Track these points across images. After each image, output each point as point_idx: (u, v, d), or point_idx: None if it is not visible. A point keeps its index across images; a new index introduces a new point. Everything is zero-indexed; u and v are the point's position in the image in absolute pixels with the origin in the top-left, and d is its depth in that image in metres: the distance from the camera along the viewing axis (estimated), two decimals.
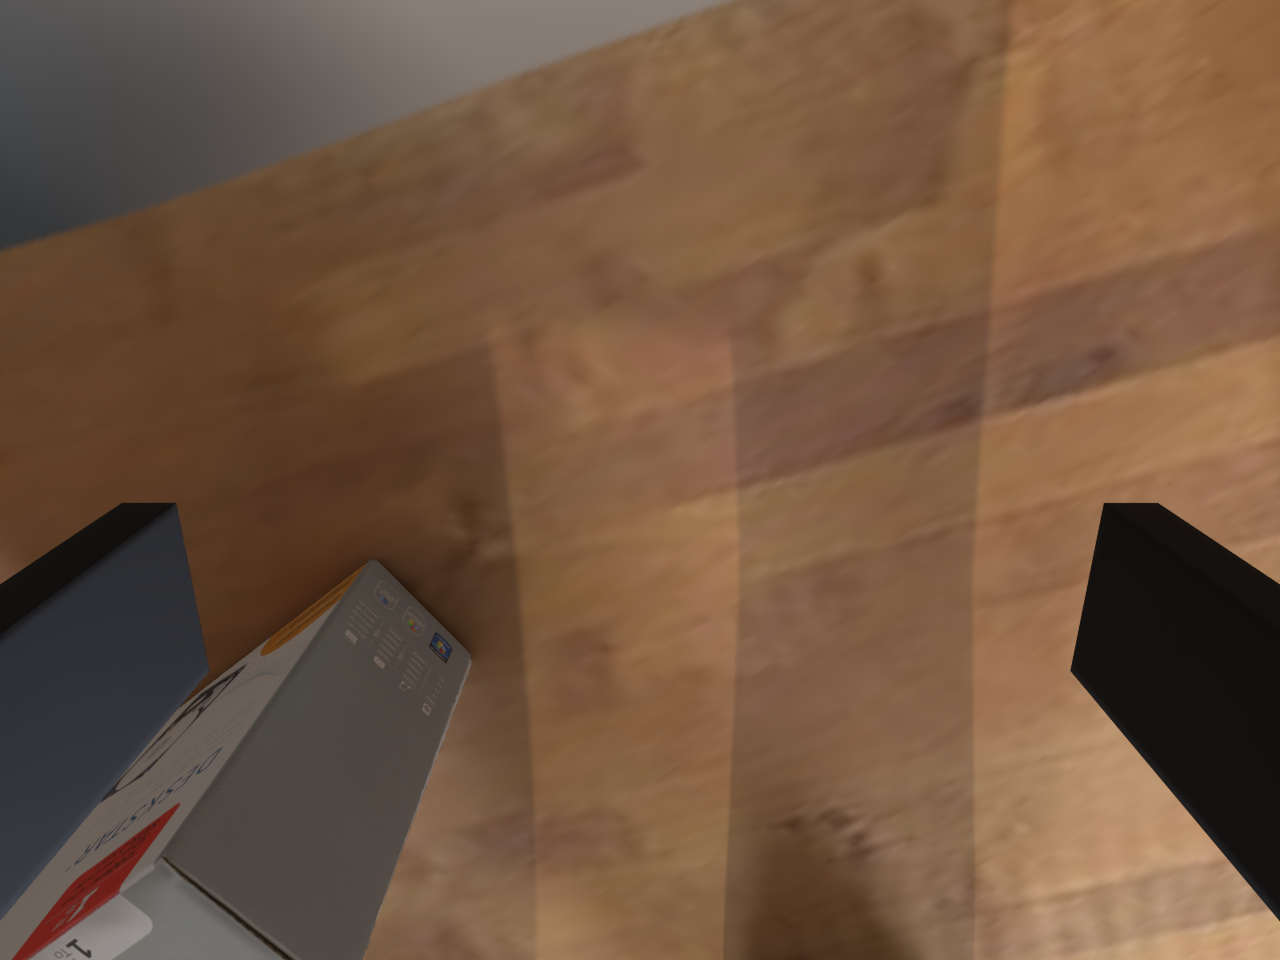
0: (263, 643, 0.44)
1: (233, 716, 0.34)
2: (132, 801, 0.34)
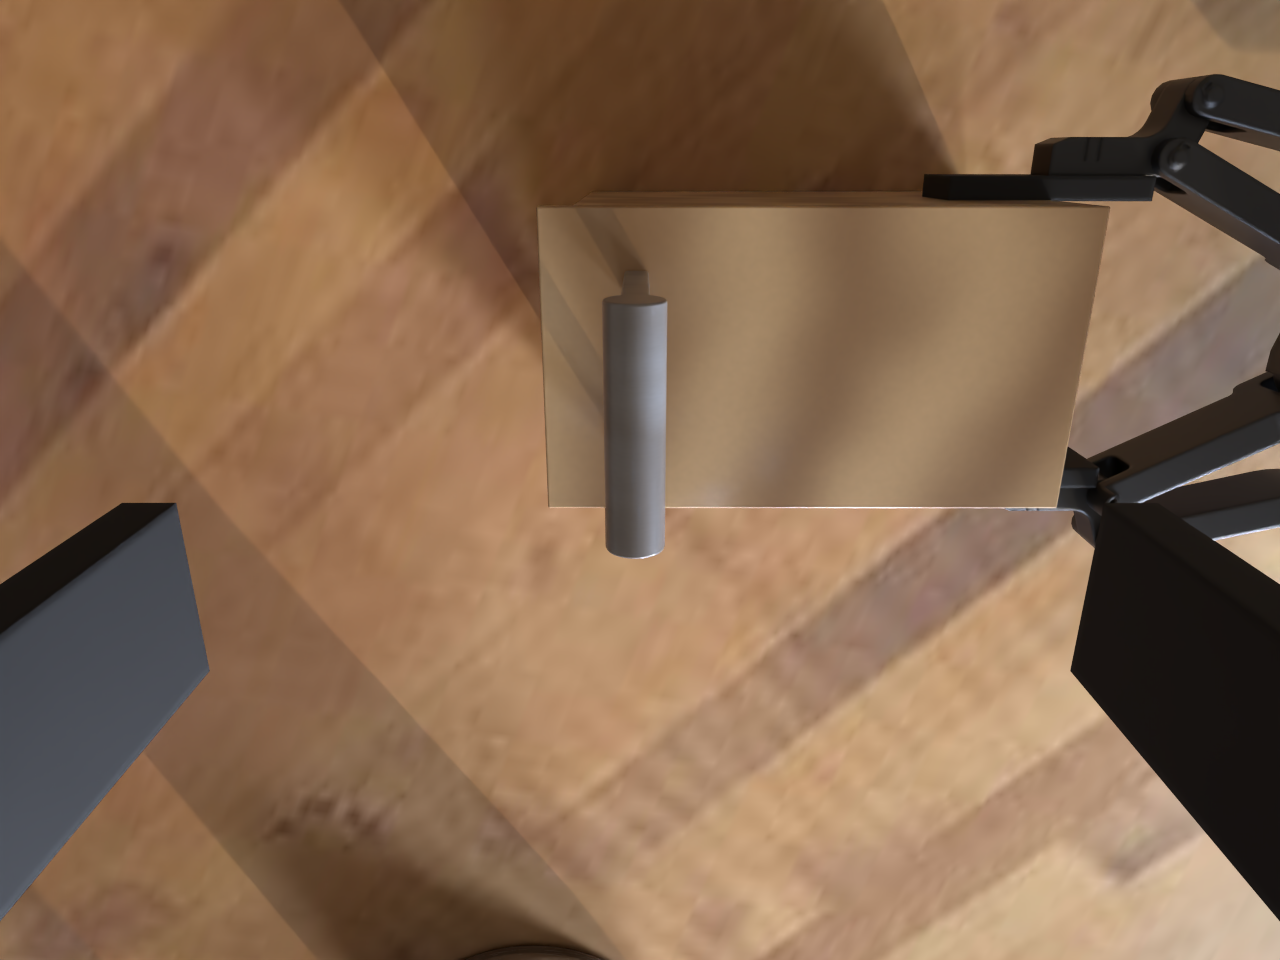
0: None
1: None
2: None
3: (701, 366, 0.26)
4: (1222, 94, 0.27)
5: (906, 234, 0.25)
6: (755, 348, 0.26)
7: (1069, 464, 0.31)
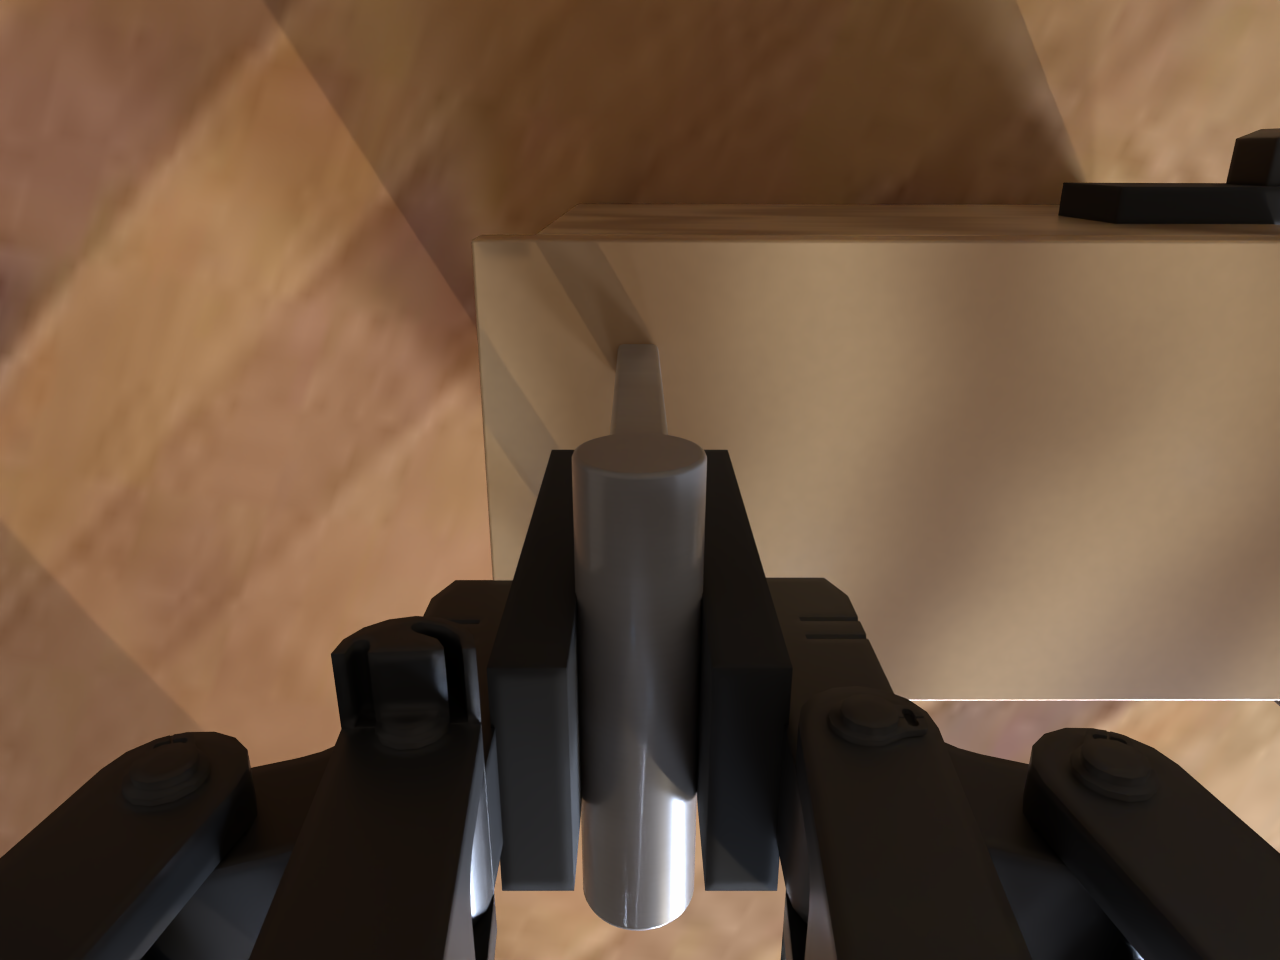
0: None
1: None
2: None
3: (741, 493, 0.16)
4: None
5: (1086, 285, 0.15)
6: (828, 465, 0.16)
7: None
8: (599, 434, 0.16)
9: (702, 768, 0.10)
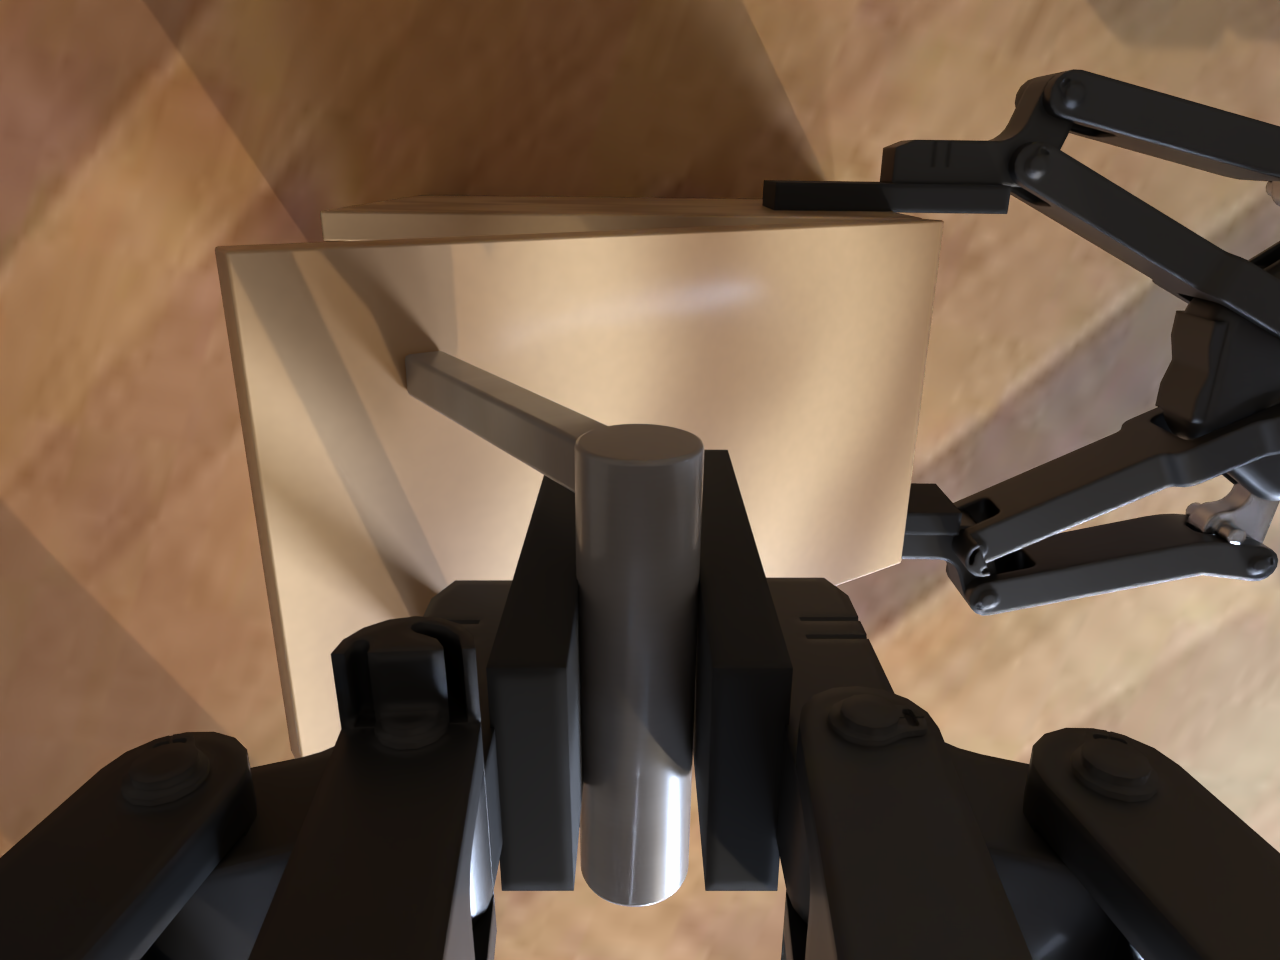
0: None
1: None
2: None
3: (531, 487, 0.16)
4: (1083, 92, 0.23)
5: (768, 265, 0.18)
6: None
7: (930, 508, 0.28)
8: (390, 453, 0.15)
9: (702, 768, 0.10)
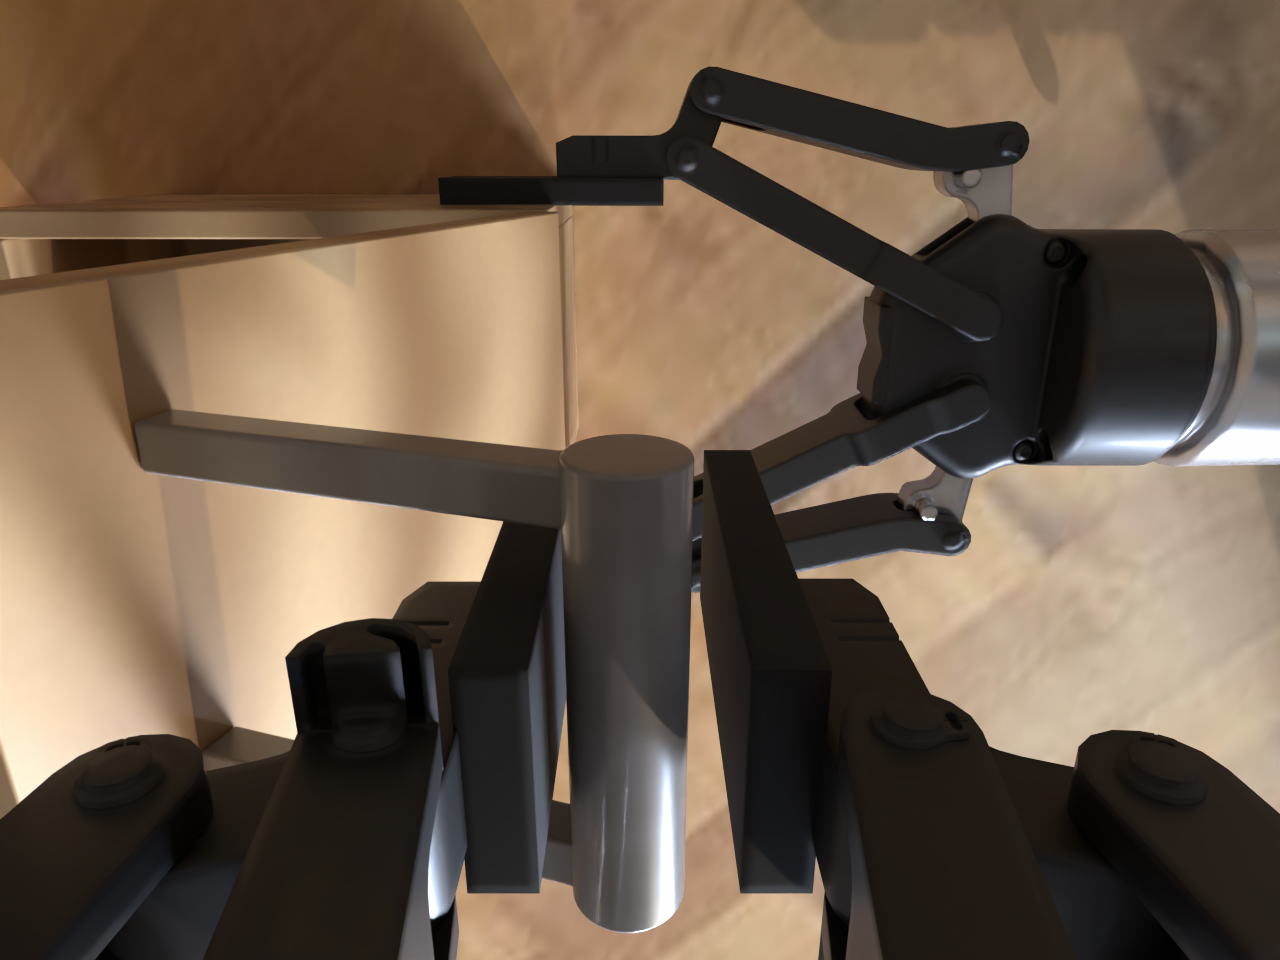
0: None
1: None
2: None
3: (285, 553, 0.14)
4: (720, 88, 0.24)
5: (450, 266, 0.17)
6: None
7: None
8: (133, 555, 0.11)
9: (736, 770, 0.09)
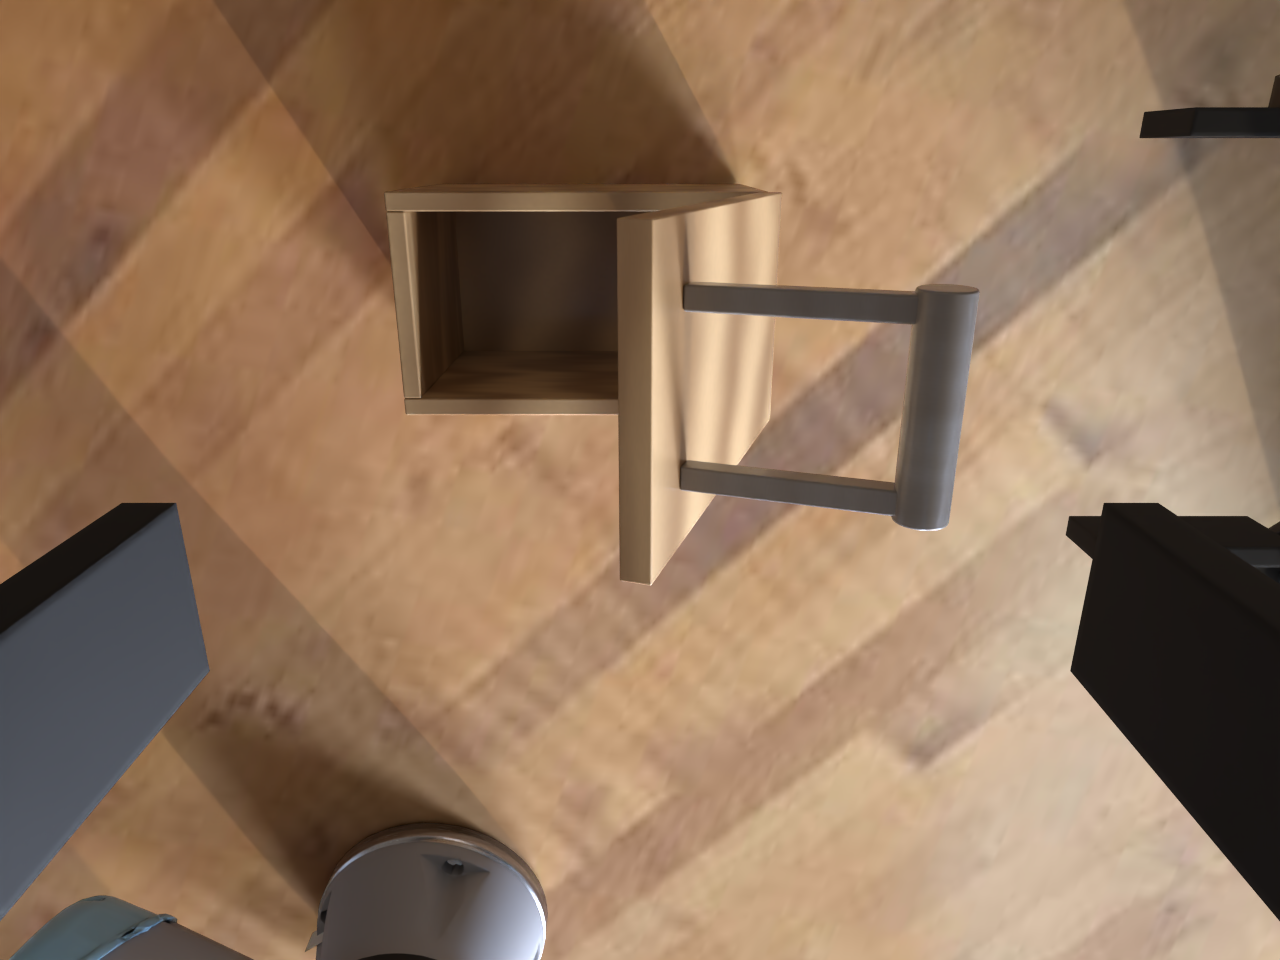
0: None
1: None
2: None
3: (703, 373, 0.25)
4: None
5: (750, 222, 0.29)
6: (717, 343, 0.26)
7: (1265, 542, 0.30)
8: (678, 352, 0.22)
9: None
